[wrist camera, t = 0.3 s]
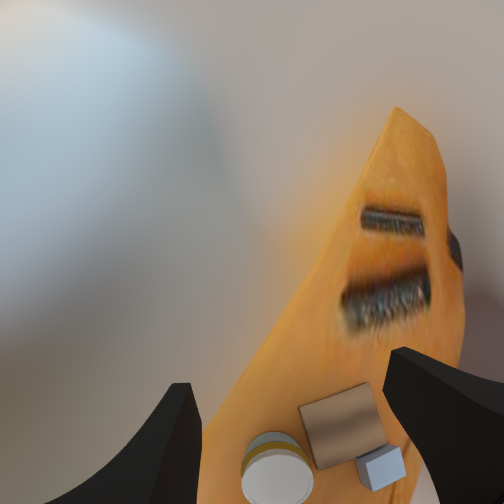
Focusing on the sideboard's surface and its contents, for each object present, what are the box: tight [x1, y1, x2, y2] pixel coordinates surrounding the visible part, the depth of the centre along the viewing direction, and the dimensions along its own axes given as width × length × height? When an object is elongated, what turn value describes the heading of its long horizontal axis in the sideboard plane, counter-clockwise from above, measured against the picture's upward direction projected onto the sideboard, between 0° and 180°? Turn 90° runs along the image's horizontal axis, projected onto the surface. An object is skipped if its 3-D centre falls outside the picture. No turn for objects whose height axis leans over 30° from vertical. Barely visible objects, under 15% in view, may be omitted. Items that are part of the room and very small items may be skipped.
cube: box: [355, 443, 406, 492], centre depth 25 cm, size 5×5×5 cm
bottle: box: [241, 431, 314, 504], centre depth 23 cm, size 7×7×15 cm
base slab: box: [298, 382, 387, 471], centre depth 30 cm, size 10×10×2 cm
